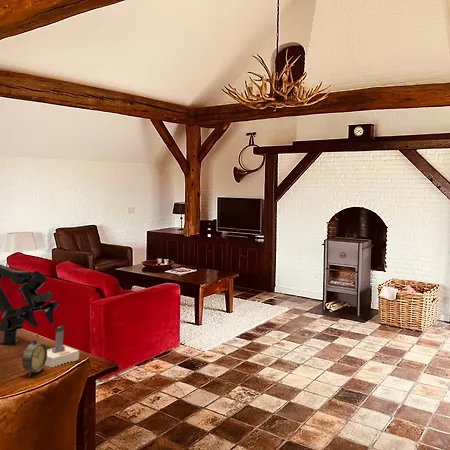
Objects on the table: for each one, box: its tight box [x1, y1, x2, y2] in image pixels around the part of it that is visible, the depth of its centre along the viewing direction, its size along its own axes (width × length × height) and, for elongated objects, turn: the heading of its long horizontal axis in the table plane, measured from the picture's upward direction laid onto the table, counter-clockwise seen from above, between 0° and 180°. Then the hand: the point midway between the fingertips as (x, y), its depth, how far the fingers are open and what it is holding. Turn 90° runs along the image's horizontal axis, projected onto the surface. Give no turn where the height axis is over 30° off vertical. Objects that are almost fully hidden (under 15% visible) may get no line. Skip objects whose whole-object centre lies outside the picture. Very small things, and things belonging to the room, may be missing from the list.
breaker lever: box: [54, 325, 66, 351], centre depth 203 cm, size 2×3×10 cm
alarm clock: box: [21, 332, 48, 378], centre depth 187 cm, size 11×5×16 cm, turn 168°
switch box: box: [44, 345, 80, 368], centre depth 203 cm, size 10×14×6 cm
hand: (45, 325), depth 207 cm, fingers open, 8 cm apart
